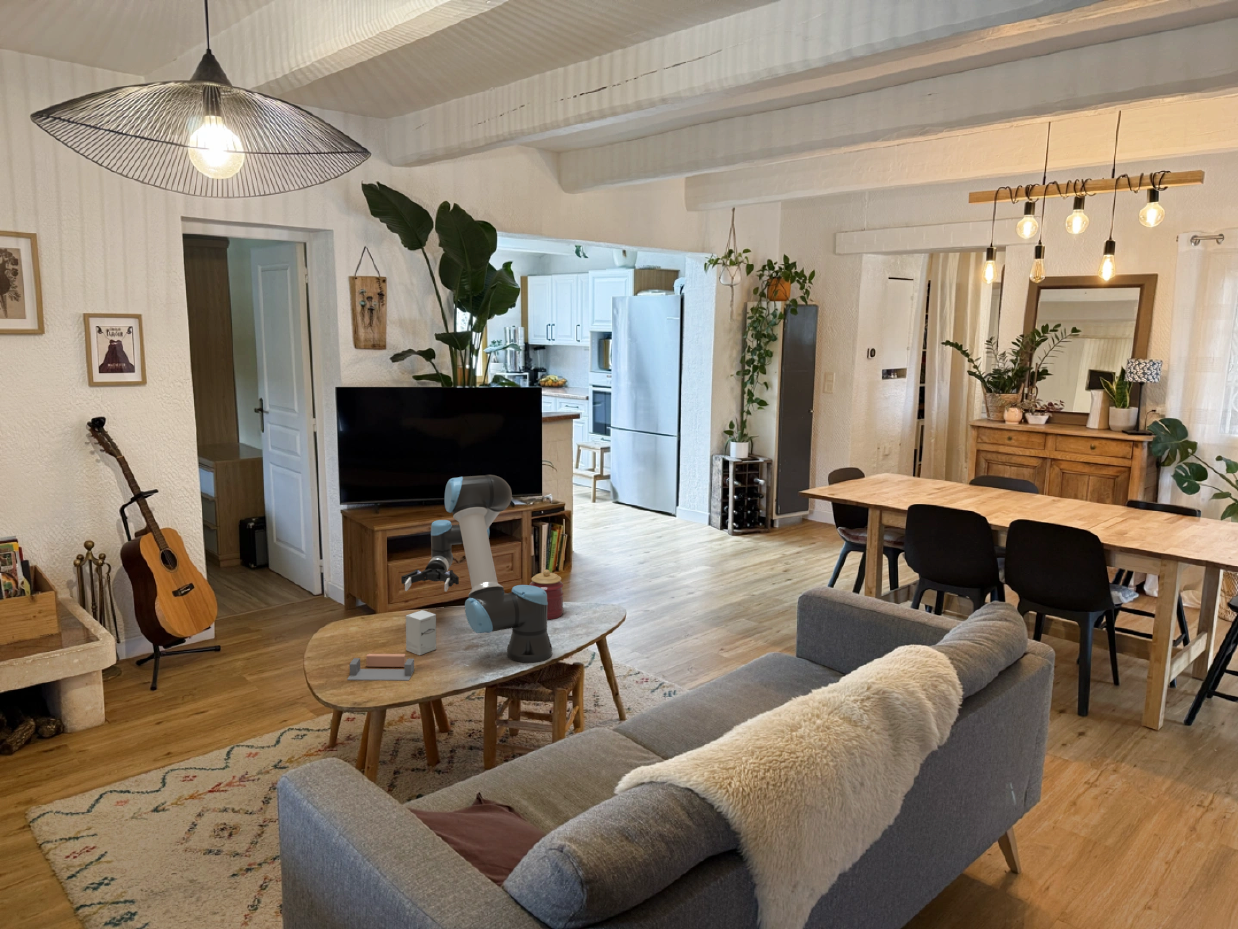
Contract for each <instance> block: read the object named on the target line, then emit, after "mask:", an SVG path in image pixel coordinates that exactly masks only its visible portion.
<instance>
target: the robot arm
mask: <svg viewBox="0 0 1238 929" xmlns="http://www.w3.org/2000/svg"><path fill="white" fill-rule="evenodd" d="M512 498H513V494H512V488H511V486H510V485H509V483H508V482H507V481H506V480H505V479H503V477H500V476H499V475H498V476H497V475H495V474H485V475H472V476H471V475H470V476H459V477H452V478H450V479H448V481H447V483H446V485H445V490H444V508H445V510H446V512H448V513H450V514H451V513H452V516H453V517H452V518H453V519H454V520H456V521H457V522H458V524H452V522H451V521H450V520H447V519H439V520H438V519H437V520H435V521H433V522H432V523H431V528H430V542H431V546H430V547H431V555H430V556H431V559H430V560H429V561H428V563H427V565H426V566H425V569H424V570H422V571H420V570H419V569H418V568H417V569H415V570H413V571H411V572H409V573H407V574H404V575H401V579H400V580H401V581H400V582H401V584H402V585H404V591H405V592H408V590H410V588H411V586H412V584H414V583H418V582H425V581H431V582H444V592H447V591H448V589H449V588H450V587H453V585H454V584H455V585H459V582H460V578H459V576H458V575H457V574H456V573H455V572H454V570H453V569H450V568H451V566H452V564H453V561H454V556H453V553H452V545H461V544H463V548H464V554H465V555H464V556H465V560H466V564H467V570H468V575H469V579H470V580H469V581H470V584H471V586H470V587H471V589H470V592H469V593H468V598H467V599H466V600H465V602H464V608H465V610H464V613H465V617H466V620H467V622H468V625H469V626H470V628H471V629H472V630H473V632H474V633H476V634H485V633H487V634H490V633H492V632H499V631H504V630H509V629H511V630H512V631H511V636H510V638H509V643H508V645H507V648H506V655H507V657H508V658H509V659H510V660H511V661H515V662H518V663H527V664H528V663H538V662H542V661H545V660H548V659H550V657H552V655H553V646H552V643H551V640H550V636H549V633H548V619H547V605H548V602H547V593H546V592H545V590H543V589H542V588H539V587H536V586H531V585H528V584H518V585H514V586H513V587H511V588H512V589H511V592H508V593H507V592H505V589H504V588H505V587H504V586H503V585H501V584H500V583H499V582H498V578H497V574H496V567H495V563H494V559H493V554H492V549H491V544H490V539H489V538H490V532H491V531H490V527H491V525H492V523H494V521H495V520H496V518H497V517H498V516H499V514H500V513H501V512H504V511H505V510H507V508H508V507H509V505H510V504H511V502H512Z"/></svg>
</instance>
